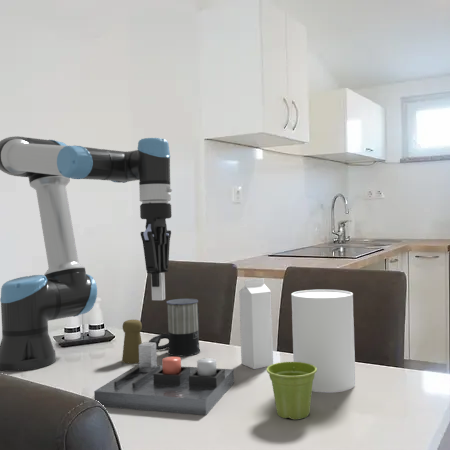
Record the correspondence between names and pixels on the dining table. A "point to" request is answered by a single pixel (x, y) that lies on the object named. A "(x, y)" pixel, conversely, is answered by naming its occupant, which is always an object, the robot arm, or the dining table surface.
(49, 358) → the robot arm
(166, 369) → the button
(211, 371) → the grey button
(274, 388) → the plant pot
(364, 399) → the dining table surface
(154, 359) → the toggle
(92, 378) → the dining table surface
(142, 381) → the panel
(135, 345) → the cork
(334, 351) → the canister
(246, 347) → the milk
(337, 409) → the dining table surface
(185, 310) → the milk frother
